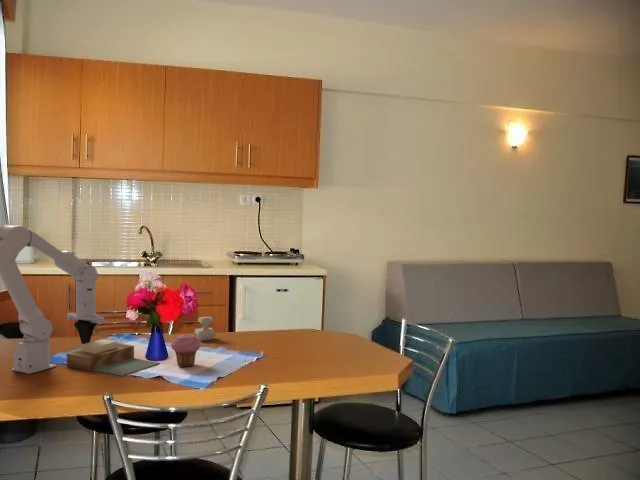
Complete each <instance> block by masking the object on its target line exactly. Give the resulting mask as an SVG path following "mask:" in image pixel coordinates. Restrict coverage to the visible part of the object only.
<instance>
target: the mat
mask: <svg viewBox="0 0 640 480" xmlns="http://www.w3.org/2000/svg"><path fill="white" fill-rule="evenodd" d="M160 364H161V363H160V362H157V361H152V360H151V361H150V360H145V359H141V358H135V357H134V358H129V359H126V360H122V361H119V362H116V363H112V364H109V365H106V366H102V367H99V368H95V369H92V372H93V371H94V372H99V373H104V374H107V375H112V376H118V377H123V376H127V375H131V374H133V373H136V372H135V371H137V372H139V371H138V370H140V371H142V370H141V369H143V370H146V369H149V368H152V367H154V366H158V365H160ZM145 368H146V369H145Z"/></svg>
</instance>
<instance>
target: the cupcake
mask: <svg viewBox="0 0 640 480" xmlns="http://www.w3.org/2000/svg"><path fill="white" fill-rule="evenodd" d="M200 348H201V340H200V339H199V338H198V337H197V336H196V335H194V334H190V333H189V334H188V333H183V334H179V335H178V336H176V337H175V338H174V339H173V340H172V342H171V349H172V350H173V351H174V352H175V356H176V364H177V366H178V367H180V368H181V367H182V368H184V367H194V366H195V362H196V354H197V351H198V350H199V349H200Z"/></svg>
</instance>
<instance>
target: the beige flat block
mask: <svg viewBox="0 0 640 480" xmlns="http://www.w3.org/2000/svg"><path fill="white" fill-rule="evenodd" d="M117 343H118V341H117V340H111V339H106V338H103V339H98V340H94V341H90V343H86V344H82V343H81V344H80V350H81V351H84V352H89V353H98V352H102V351H106V350H109V349H113V348H117Z"/></svg>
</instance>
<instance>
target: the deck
mask: <svg viewBox="0 0 640 480" xmlns="http://www.w3.org/2000/svg"><path fill="white" fill-rule="evenodd" d="M129 358H135V346H134V345H133V344H132V345H130V344H125V343H118V342H117V348H113V349H109V350H106V351H102V352H98V353H89V352H84V351H81V349H79V350H76V351H72V352H68V353H66V367H69V368H72V369H76V370H77V369H78V370H83V371H86V372H87V371H88V372H90V371H92V372H93V370H92V369H95V368H99V367H102V366H106V365H109V364H112V363H116V362H119V361H122V360H126V359H129Z"/></svg>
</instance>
